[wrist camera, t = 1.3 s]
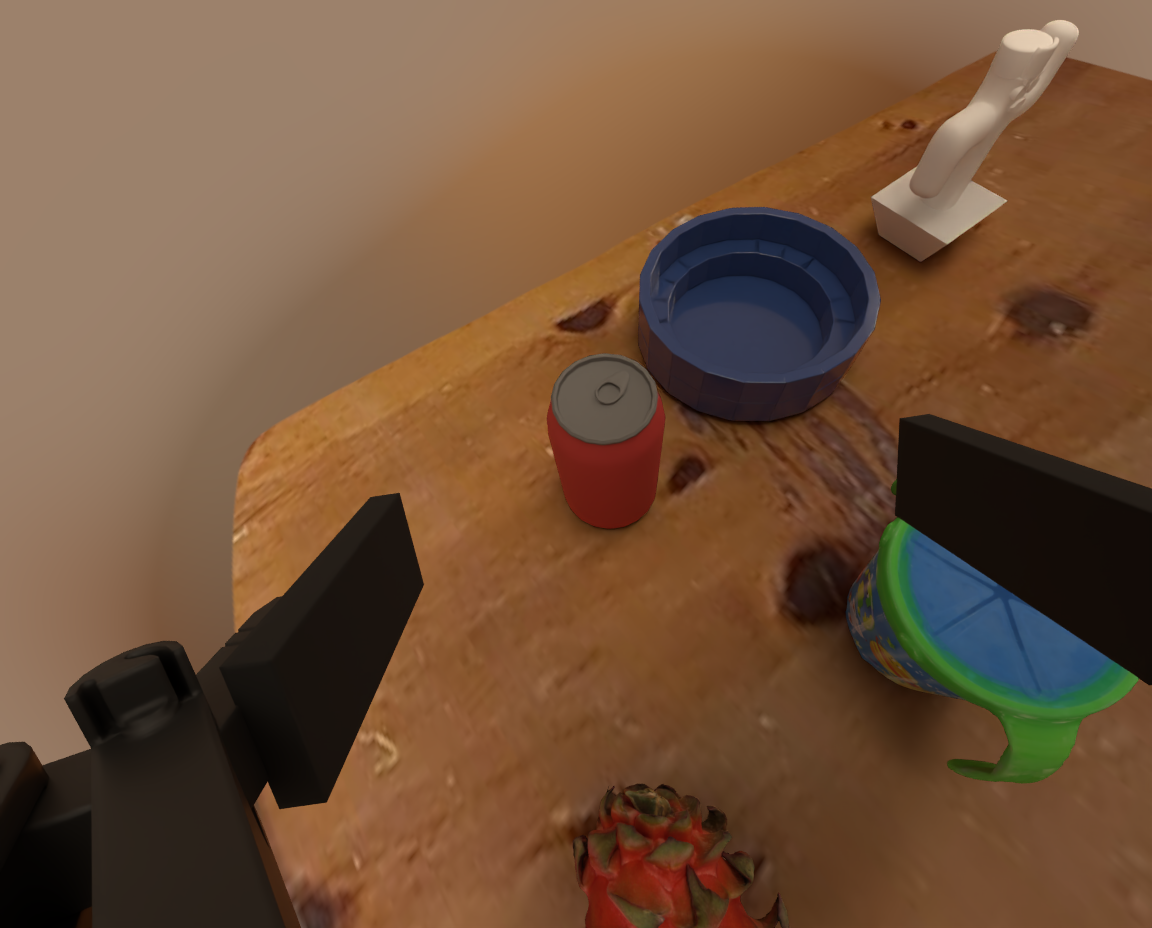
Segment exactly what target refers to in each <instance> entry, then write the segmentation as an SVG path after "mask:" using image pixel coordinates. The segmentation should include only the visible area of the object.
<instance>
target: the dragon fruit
mask: <svg viewBox="0 0 1152 928" xmlns="http://www.w3.org/2000/svg"><path fill="white" fill-rule="evenodd" d="M608 788H609V787H608ZM614 788H615V787H614V786H613V788H611V789H610V790H609V791H608V790H607V793H606V794H605V796H604V797H603V799H602V800H601V804H600V808H599V818H598V821H597V825H596V830H592V831H590V832H589V835H588V838H587V837H586V836H584V835H581V836H579V837H576V838H575V839H574V840H573V849H574V859H575V868H576V873H577V881H578V884H579V887H580V888H581V889H582V890H583V891H584V892H585V893H586V895H587V897H588V900H589V907H588V911H587V914H586V918H585V925H586V928H775V926H776V925H777V923H778V921H779V922H780V924H781V927H782V928H789V920H788V915H787V910H786V908H785V906H784V903H783V900H782V898H781V895H780V893H778V894H777V896H778V897H777V899H776V902H775V903H774V905H773V907H772V910H771V911H770V912H769V913H768V914H766V916H765V917H763V918H762V919H753V918H751V917H750V916H748V915H747V914H746V912H745V910H744V908H743V906H742V904H741V902H740V896H741V895H742V894H743V892H744V891H746V890H747V889H748V888H749V887H750V886H751V884H752V882H753V878H754V868H755V867H754V863H753V859H752V858H751V857H750V856H749V855H748V854H747V853H745V852H743V851H738V852H735V853H734V854H729V853H725V852H724V851H723V850H724V848H725V846H726V844H727V843H728V842H729V841H730V840H731V838H732V836H731V834H730V833H729V831H727V830H726V825H727V819H726V816H725V814H724V813H723V812H722V811H721V810H720V809H718V808H716V807H713V806H707V809H708V810H709V814H708V817H707V819H706V820H705V821H704V822H702V813H701V808H700V801H699V799H698V798H696V797H694V796H689V795H686V796H684V797H683V798H680V797H679V795H678V794H677V793H676V791H675V790H674V789H673V788H671V787H670V786H667V785H664V784H662V785H660V786H658V787H657V788H656V789H655V790H654V791H653V789H651V788H649V787H648V786H646V785H645V784H635V785H632V786H629V787H626V788H625V789H624V791H623V795H622V794H621V793H619V794H618V795H617V796H615V795H614V794H613V793H612V791H613V789H614ZM721 854H722V856H723V857H724V858H725V859H726V860H724V859H723V857H722V856H721Z"/></svg>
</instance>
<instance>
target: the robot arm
mask: <svg viewBox="0 0 1152 928" xmlns="http://www.w3.org/2000/svg"><path fill="white" fill-rule="evenodd" d="M895 516H897V517H898V518H900V519H901V520H903V521H904V522H906V523H907V524H909V525H910V526H912V527H913V528H915V529H916V530H918V531H919V532H921V533H922V534H924V535H925V536H927V537H928V538H930V539H931V540H933V541H934V542H936V543H937V544H939V545H940V546H942V547H943V548H945V549H946V550H948V551H949V552H951V553H952V554H954V555H955V556H957V557H958V558H960V559H961V560H963V561H964V562H966V563H967V564H969V565H970V566H972V567H973V568H975V569H976V570H978V571H979V572H981V573H982V574H984V575H985V576H987V577H988V578H990V579H991V580H993V581H994V582H996V583H997V584H999V585H1000V586H1002V587H1003V588H1005V589H1006V590H1008V591H1009V592H1011V593H1012V594H1014V595H1015V596H1017V597H1018V598H1020V599H1021V600H1023V601H1024V602H1026V603H1027V604H1029V605H1030V606H1031V607H1033V608H1034V609H1036V610H1037V611H1039V612H1040V613H1042V614H1043V615H1045V616H1046V617H1048V618H1049V619H1051V620H1052V621H1054V622H1055V623H1057V624H1058V625H1060V626H1061V627H1063V628H1064V629H1066V630H1067V631H1069V632H1070V633H1072V634H1073V635H1075V636H1076V637H1078V638H1079V639H1081V640H1082V641H1084V642H1085V643H1087V644H1088V645H1090V646H1091V647H1093V648H1094V649H1096V650H1097V651H1099V652H1100V653H1102V654H1103V655H1105V656H1106V657H1108V658H1109V659H1111V660H1112V661H1114V662H1115V663H1117V664H1118V665H1120V666H1121V667H1123V668H1124V669H1126V670H1127V671H1129V672H1130V673H1132V674H1133V675H1135V676H1136V677H1138V678H1139V679H1141V680H1142V681H1144V682H1145V683H1147V684H1148V685H1152V489H1151V488H1148V487H1145V486H1142V485H1139V484H1136V483H1133V482H1130V481H1127V480H1124V479H1121V478H1118V477H1115V476H1112V475H1109V474H1106V473H1103V472H1100V471H1097V470H1094V469H1091V468H1088V467H1085V466H1082V465H1079V464H1076V463H1074V462H1071V461H1068V460H1065V459H1062V458H1059V457H1056V456H1053V455H1050V454H1047V453H1044V452H1041V451H1038V450H1035V449H1032V448H1029V447H1026V446H1023V445H1020V444H1017V443H1014V442H1011V441H1008V440H1005V439H1002V438H999V437H996V436H993V435H990V434H987V433H984V432H981V431H978V430H975V429H972V428H969V427H966V426H963V425H960V424H957V423H954V422H951V421H948V420H945V419H942V418H939V417H936V416H933V415H930V414H926V415H920V416H913V417H906V418H900V422H899V443H898V465H897V486H896V507H895ZM423 585H424V583H423V579H422V575H421V572H420V568H419V564H418V560H417V557H416V553H415V549H414V545H413V542H412V538H411V534H410V530H409V527H408V523H407V519H406V515H405V512H404V508H403V504H402V500H401V497H400V493H395V494H388V495H382V496H375V497H370V498H369V499H368V501H367V502H366V503H365V504H364V505H363V506H362V507H361V508H360V510H359V511H358V512H357V513H356V514H355V515H354V516H353V517H352V519H351V520H350V521H349V522H348V523H347V524H346V525H345V526H344V528H343V529H342V530H341V531H340V532H339V533H338V534H337V535H336V537H335V538H334V539H333V540H332V541H331V542H330V543H329V544H328V546H327V547H326V548H325V549H324V550H323V551H322V552H321V553H320V555H319V556H318V557H317V558H316V559H315V560H314V561H313V562H312V564H311V565H310V566H309V567H308V568H307V569H306V570H305V571H304V573H303V574H302V575H301V576H300V577H299V578H298V579H297V580H296V582H295V583H294V584H293V585H292V586H291V587H290V588H289V589H288V591H287V592H286V593H285V594H284V595H283V596H281V597H276V598H275V599H274V600H272V601H271V602H269V603H268V604H266V605H265V606H263V607H262V608H260V609H259V610H257V611H256V612H254V613H253V614H252V615H251V616H250V618H249V619H248V620H247V621H246V622H245V623H244V624H243V625H242V626H241V627H240V628H239V629H238V633H235V634H234V635H233V636H232V637H231V638H230V639H229V640H228V641H227V642H226V643H225V647H222V648H221V649H220V650H219V651H218V652H217V653H216V654H215V655H214V656H213V657H212V658H211V660H209V662H208V663H207V664H206V665H205V666H204V667H203V668H202V669H201V670H200V671H199V672H198V673H197V675H195V672H194V670H193V668H192V666H191V663H190V661H189V659H188V657H187V654H186V652H185V650H184V648H183V646H182V645H181V644H179V643H178V642H177V641H160V642H156V643H151V644H146V645H143V646H140V647H138V648H134V649H132V650H129V651H126V652H123V653H121V654H120V655H117V656H115V657H113V658H111V659H109V660H107V661H105V662H103V663H102V664H100V665H99V666H97V667H95V668H94V669H92V670H91V671H89V672H88V673H86V674H84V675H83V676H82V677H81V678H80V679H79V680H78V681H77V682H76V683H74V684H73V685H72V686H71V687H70V688H69V690H68V692H67V694H66V696H65V698H64V699H65V701H66V703H67V705H68V707H69V709H70V710H71V712H72V714H73V716H74V718H75V720H76V721H77V723H78V725H79V727H80V729H81V730H82V732H83V734H84V736H85V738H86V739H87V741H88V743H89V745H90V746H91V749H89V750H86V751H83V752H80V753H78V754H75V755H72V756H69V757H66V758H63V759H60V760H57V761H54V762H51V763H48V764H46V765H42V764H41V763H40V761H39V759H38V757H37V756H36V754H35V752H34V751H33V749H32V747H31V746H29V745H28V744H27V743H25V742H12V743H11V742H9V743H6V744H2V745H0V928H301V926H300V924H299V921H298V918H297V916H296V913H295V910H294V908H293V905H292V902H291V900H290V897H289V894H288V892H287V889H286V886H285V884H284V881H283V878H282V876H281V873H280V870H279V868H278V865H277V862H276V860H275V857H274V854H273V852H272V849H271V846H270V844H269V841H268V838H267V836H266V833H265V830H264V828H263V825H262V822H261V820H260V818H259V815H258V813H257V811H256V809H255V806H254V804H255V802H256V800H257V799H258V797H259V795H260V793H261V792H262V790H263V788H264V787H265V785H266V783H267V781H268V783H269V786H270V788H271V790H272V793H273V795H274V797H275V800H276V802H277V804H278V807H279V809H284V808H291V807H298V806H305V805H312V804H319V803H326V802H327V801H328V798H329V796H330V794H331V792H332V789H333V787H334V785H335V783H336V780H337V778H338V776H339V774H340V772H341V769H342V767H343V765H344V763H345V760H346V758H347V756H348V754H349V751H350V749H351V747H352V745H353V742H354V740H355V738H356V736H357V733H358V731H359V729H360V727H361V724H362V722H363V720H364V718H365V715H366V713H367V711H368V709H369V707H370V704H371V702H372V700H373V698H374V695H375V693H376V691H377V689H378V686H379V684H380V682H381V680H382V677H383V675H384V673H385V671H386V668H387V666H388V664H389V662H390V659H391V657H392V655H393V653H394V650H395V648H396V646H397V644H398V642H399V639H400V637H401V635H402V633H403V630H404V628H405V626H406V624H407V621H408V619H409V617H410V615H411V612H412V610H413V608H414V606H415V603H416V601H417V599H418V597H419V594H420V592H421V590H422V588H423Z"/></svg>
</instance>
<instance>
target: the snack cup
mask: <svg viewBox="0 0 1152 928" xmlns="http://www.w3.org/2000/svg"><path fill="white" fill-rule="evenodd" d="M896 486H897V479H896V480H895V481H894V482H893V484H892V486H891V491H892V493H893V494H894V495H896ZM847 599H848V600H847V609H846V619H847V622H848V626H849V629H850V632H851V635H852V636H853V639H854V642H855V645H856V647H857V649H858V650H859V652H860V655H861V657H862V658H863V659H864V660H865V661H867V662H868V663H870V664H871V665H872V666H873V667H874V668H875V669H876V670H877V671H878V672H880V673H881V674H883V675H884V676H885V677H886V678H888V679H890V680H892V681H893V682H895V683H897V684H899V685H901V686H903V687H906V688H909V689H912V690H916V691H921V692H926V693H931V694H936V695H941V696H946V697H951V698H956V699H963V700H967V701H969V702H971V703H973V704H976V705H978V706H981V707H983V708H985V709H987V710H989V711H990V712H991V713H993V714H994V715H995V716H997V717H998V719H999V720H1000V721H1001V724H1002V725H1003V727H1004V730H1005V733H1006V735H1007V738H1008V743H1009V744H1008V746H1007V748H1006V749H1005V751H1004V752H1003V755H1002V756H1001V757H1000V760H999V761H998V763H997V765H996V764H993V763H988V762H983V761H974V760H963V759H952V760H949V761H948V762H947V765H948V768H950V769H951V770H953V771H954V772H956V773H958V774H961V775H963V776H965V777H969V778H973V779H978V780H985V781H994V782H997V781H1004V782H1015V783H1033V782H1038V781H1041V780H1043V779H1045V778H1047V777H1048V776H1050V775H1052V774H1053V773H1054V772H1055V771H1057V770H1058V769H1059V768H1060V767H1061V766H1062V765H1063V762H1064V761H1065V760H1066V759H1067V758H1068V757H1069V754H1070V752H1071V749H1072V747H1073V746H1074V745H1075V739H1076V735H1077V731H1078V728H1079V725H1080V723H1081V721H1082V719H1083V718H1085V717H1087V716H1088V715H1090V714H1093V713H1096V712H1098V711H1101V710H1103V709H1105V708H1107V707H1109V706H1111V705H1113V704H1114V703H1116V702H1117V701H1119V700H1120V699H1121V698H1123V697H1124V696H1125V695H1126V694H1127V693H1128V692H1129V691H1131V689H1132V687H1133V686H1134V685H1135V684H1136V683H1137V681H1138V679H1139V678H1138V677H1136V676H1135V675H1133V674H1132V673H1130V672H1129V671H1127V670H1126V669H1124V668H1123V667H1121V666H1120V665H1118V664H1117V663H1115V662H1114V661H1112V660H1111V659H1109V658H1108V657H1106V656H1105V655H1103V654H1102V653H1100V652H1099V651H1097V650H1096V649H1094V648H1093V647H1091V646H1090V645H1088V644H1087V643H1085V642H1084V641H1082V640H1081V639H1079V638H1078V637H1076V636H1075V635H1073V634H1072V633H1070V632H1069V631H1067V630H1066V629H1064V628H1063V627H1061V626H1060V625H1058V624H1057V623H1055V622H1054V621H1052V620H1051V619H1049V618H1048V617H1046V616H1045V615H1043V614H1042V613H1040V612H1039V611H1037V610H1036V609H1034V608H1033V607H1031V606H1030V605H1029V604H1027V603H1026V602H1024V601H1023V600H1021V599H1020V598H1018V597H1017V596H1015V595H1014V594H1012V593H1011V592H1009V591H1008V590H1006V589H1005V588H1003V587H1002V586H1000V585H999V584H997V583H996V582H994V581H993V580H991V579H990V578H988V577H987V576H985V575H984V574H982V573H981V572H979V571H978V570H976V569H975V568H973V567H972V566H970V565H969V564H967V563H966V562H964V561H963V560H961V559H960V558H958V557H957V556H955V555H954V554H952V553H951V552H949V551H948V550H946V549H945V548H943V547H942V546H940V545H939V544H937V543H936V542H934V541H933V540H931V539H930V538H928V537H927V536H925V535H924V534H922V533H921V532H919V531H918V530H916V529H915V528H913V527H912V526H910V525H909V524H907V523H906V522H904V521H903V520H901V519H900V518H898V517H897V518H896V519H895V520H894V522H891V523H890V524H888V525H887V527H886V528H885V530H884V532H883V534H882V536H881V539H880V542H879V550H878V551H877V553H876V554H875V555H874V557H873V558H872V559H871V560H870V561H869V563H868V564H867V565H866V567H865V568H864V569H863V570H862V572H861V573H860V575H859V576H858V578H857V579H856V581H855V582H854V583H853V585H852V587H851V588H850V591H849V594H848V597H847Z"/></svg>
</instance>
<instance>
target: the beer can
mask: <svg viewBox="0 0 1152 928" xmlns="http://www.w3.org/2000/svg"><path fill="white" fill-rule="evenodd" d="M547 425H548V435H549V438H550V442H551V446H552V450H553V454H554V457H555V461H556V465H557V469H558V473H559V476H560V480H561V484H562V488H563V492H564V495H565V498H566V500H567V502H568V504H569V507H570V509H571V510H572V511H573V512H574V513H575V514H576V515H577V516H578V517H579V518H580V519H581V520H583V521H585V522H587V523H589V524H591V525H593V526H595V527H601V528H607V529H611V528H619V527H625V526H627V525H629V524H631V523H633V522H635V521H638V520H639V519H640V518H641V517H642V516H643V515H644V514H645V513H646V512H647V511H648V510H649V508H650V506H651V505H652V503H653V501H654V499H655V494H656V487H657V480H658V472H659V464H660V456H661V449H662V441H663V433H664V425H665V414H664V409H663V405H662V401H661V397H660V395H659V393H658V392H657V388H656V384H655V381H654V380H653V378H652V377H651V375H650V374H649V372H648V370H646V369H645V368H644V367H643V366H641V365H640V364H639V363H638V362H636V361H634V360H632V359H629V358H627V357H624V356H622V355H615V354H606V353H605V354H598V355H591V356H587V357H585V358H583V359H580V360H578V361H576V362H574V363H573V364H571V365H570V366H569V367H568V368H566V369H565V370H564V371H563V372H562V373H561V375H560V376H559V378H558V379H557V381H556V382H555V384H554V387H553V391H552V395H551V402H550V406H549V409H548V414H547Z"/></svg>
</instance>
